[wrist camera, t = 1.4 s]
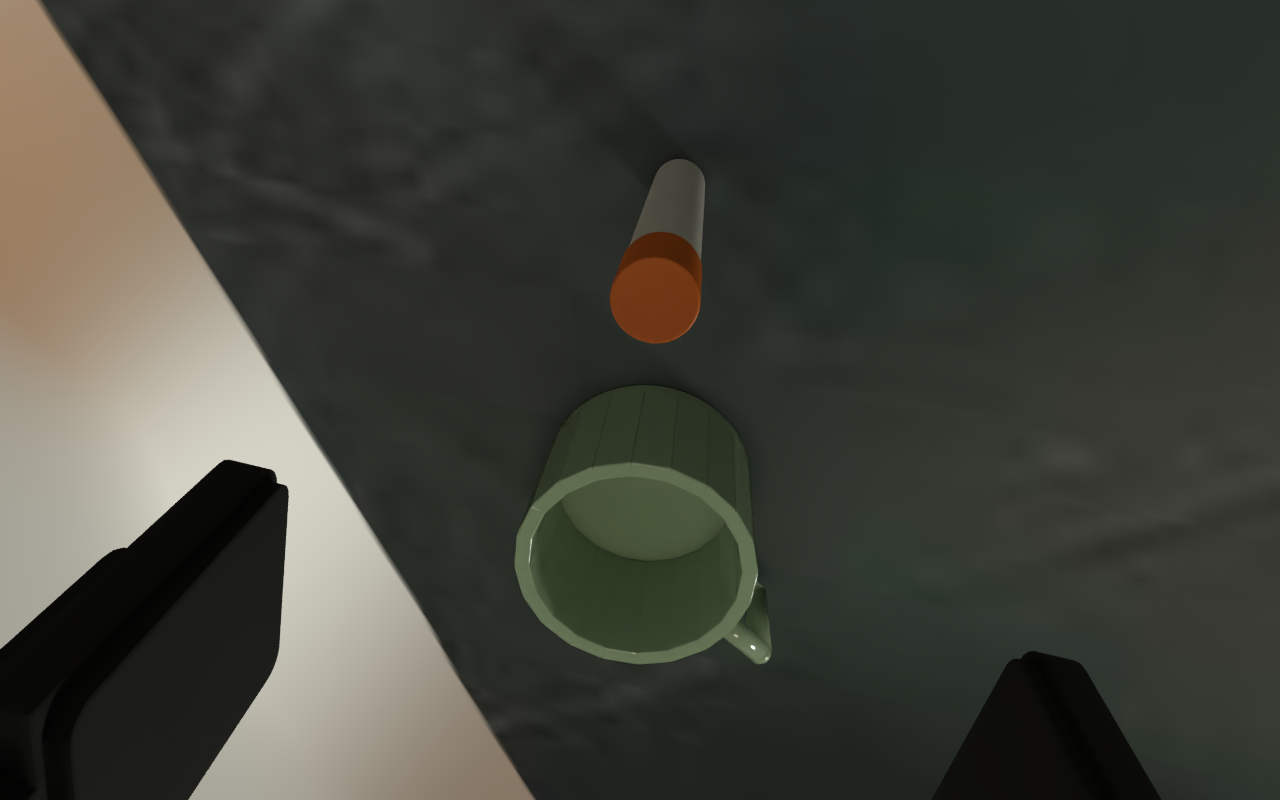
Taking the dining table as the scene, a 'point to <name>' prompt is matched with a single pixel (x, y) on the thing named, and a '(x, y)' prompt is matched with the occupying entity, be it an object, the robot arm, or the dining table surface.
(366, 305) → the dining table surface
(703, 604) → the mug
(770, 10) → the dining table surface
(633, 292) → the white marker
